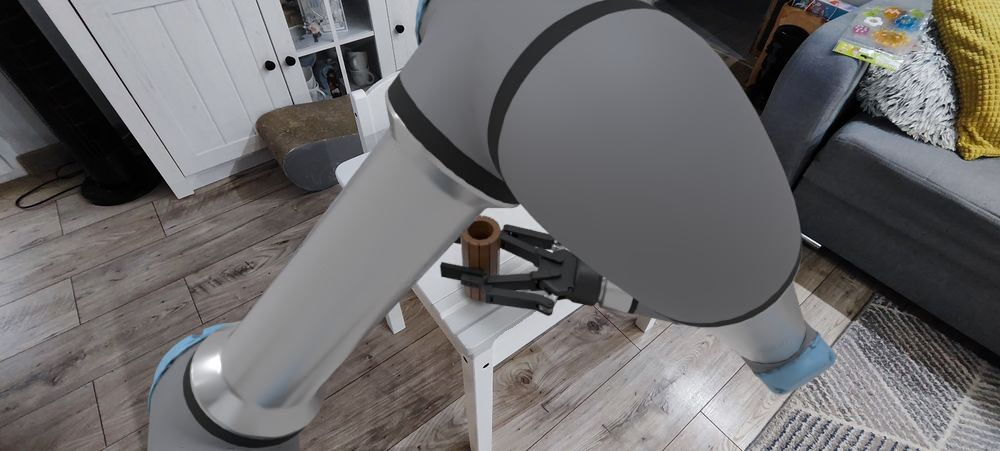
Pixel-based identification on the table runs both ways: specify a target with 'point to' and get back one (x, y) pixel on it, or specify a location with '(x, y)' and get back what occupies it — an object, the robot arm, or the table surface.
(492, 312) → the table surface
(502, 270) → the table surface
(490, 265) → the brown wooden hollow cylinder
